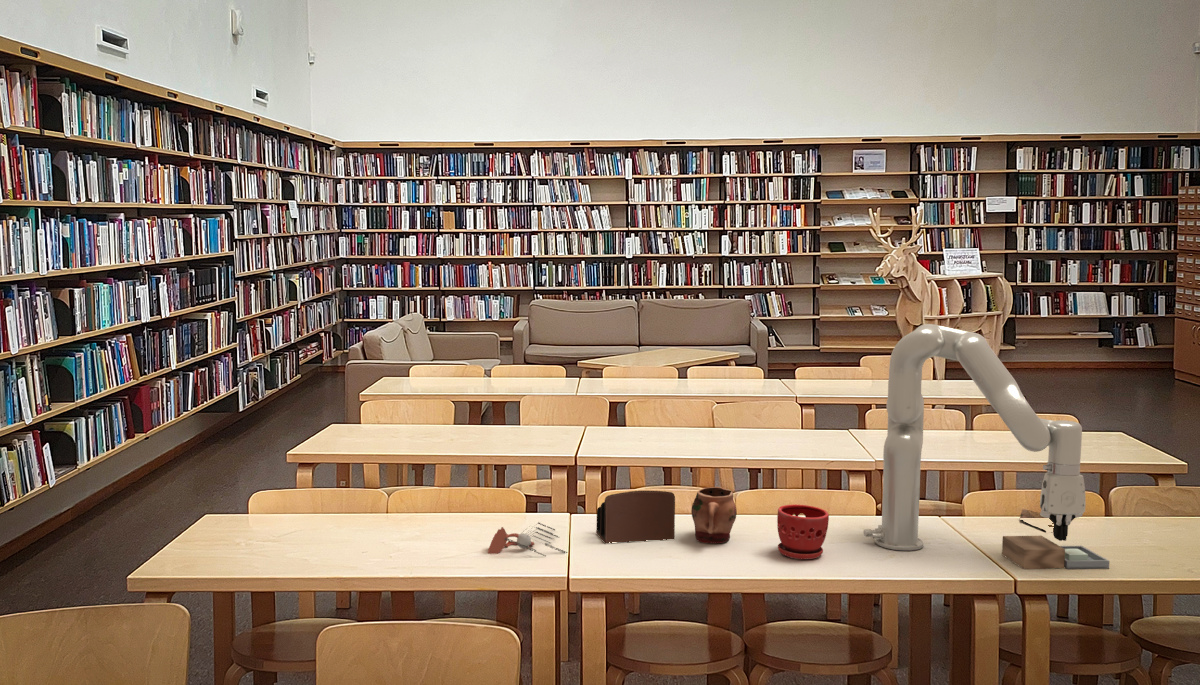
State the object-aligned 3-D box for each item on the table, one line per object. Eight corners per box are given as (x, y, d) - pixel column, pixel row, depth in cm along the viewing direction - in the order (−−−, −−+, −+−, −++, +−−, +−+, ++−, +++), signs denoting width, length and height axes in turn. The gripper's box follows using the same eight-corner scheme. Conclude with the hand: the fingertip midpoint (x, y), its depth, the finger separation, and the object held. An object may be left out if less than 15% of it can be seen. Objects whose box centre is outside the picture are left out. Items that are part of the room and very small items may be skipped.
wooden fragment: (1068, 535, 290) (1068, 531, 290) (1026, 532, 292) (1027, 529, 292) (1046, 511, 315) (1046, 508, 315) (1008, 509, 317) (1009, 506, 317)
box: (1066, 569, 258) (1067, 561, 258) (1041, 553, 271) (1041, 546, 271) (1108, 568, 259) (1109, 560, 259) (1081, 553, 272) (1081, 545, 272)
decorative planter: (737, 553, 269) (738, 501, 268) (690, 551, 270) (691, 499, 269) (734, 531, 289) (735, 483, 288) (690, 530, 290) (691, 481, 289)
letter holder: (675, 540, 281) (675, 489, 279) (604, 544, 276) (605, 493, 275) (664, 530, 290) (664, 481, 289) (596, 534, 286) (596, 484, 284)
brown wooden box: (1023, 569, 258) (1024, 549, 258) (1001, 554, 270) (1002, 536, 270) (1064, 568, 259) (1065, 549, 258) (1040, 554, 271) (1041, 535, 270)
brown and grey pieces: (499, 530, 262) (504, 501, 287) (485, 560, 263) (492, 529, 288) (572, 560, 264) (571, 529, 289) (559, 590, 265) (559, 556, 290)
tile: (1088, 554, 263) (1087, 562, 263) (1077, 548, 267) (1076, 556, 268) (1069, 554, 262) (1069, 562, 262) (1059, 548, 267) (1058, 556, 267)
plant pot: (787, 564, 260) (788, 517, 259) (769, 548, 273) (770, 504, 272) (835, 561, 263) (837, 515, 262) (815, 546, 276) (816, 502, 275)
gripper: (1042, 472, 258) (1039, 543, 260) (1100, 472, 259) (1096, 543, 261) (1028, 466, 266) (1024, 535, 268) (1084, 465, 267) (1080, 534, 269)
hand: (1060, 539), depth 264 cm, fingers closed
